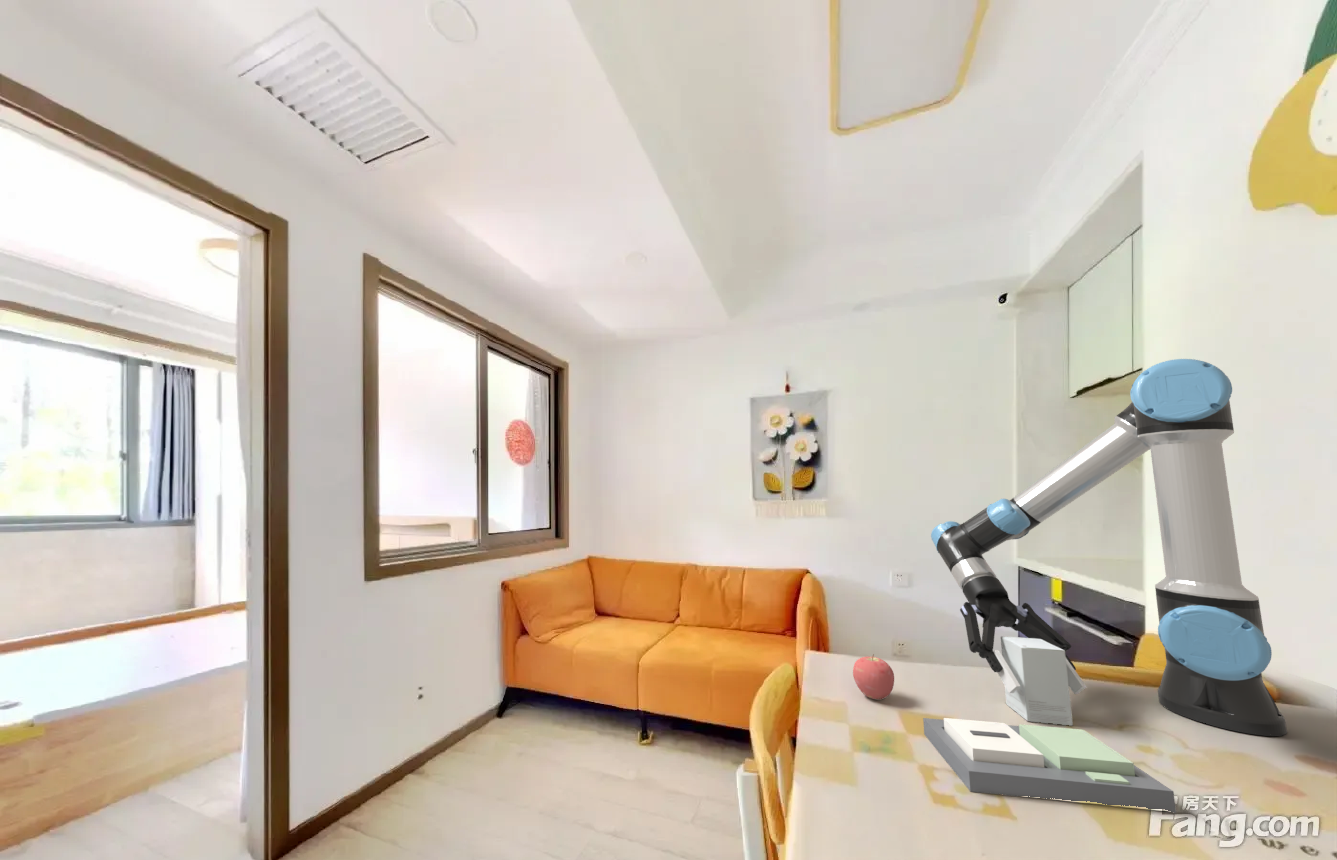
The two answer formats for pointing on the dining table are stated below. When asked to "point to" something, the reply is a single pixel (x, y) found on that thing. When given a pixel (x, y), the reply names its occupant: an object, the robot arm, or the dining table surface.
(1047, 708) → the supplement box
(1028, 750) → the grey flat rectangular block
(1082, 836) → the dining table surface
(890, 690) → the apple
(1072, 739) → the key
